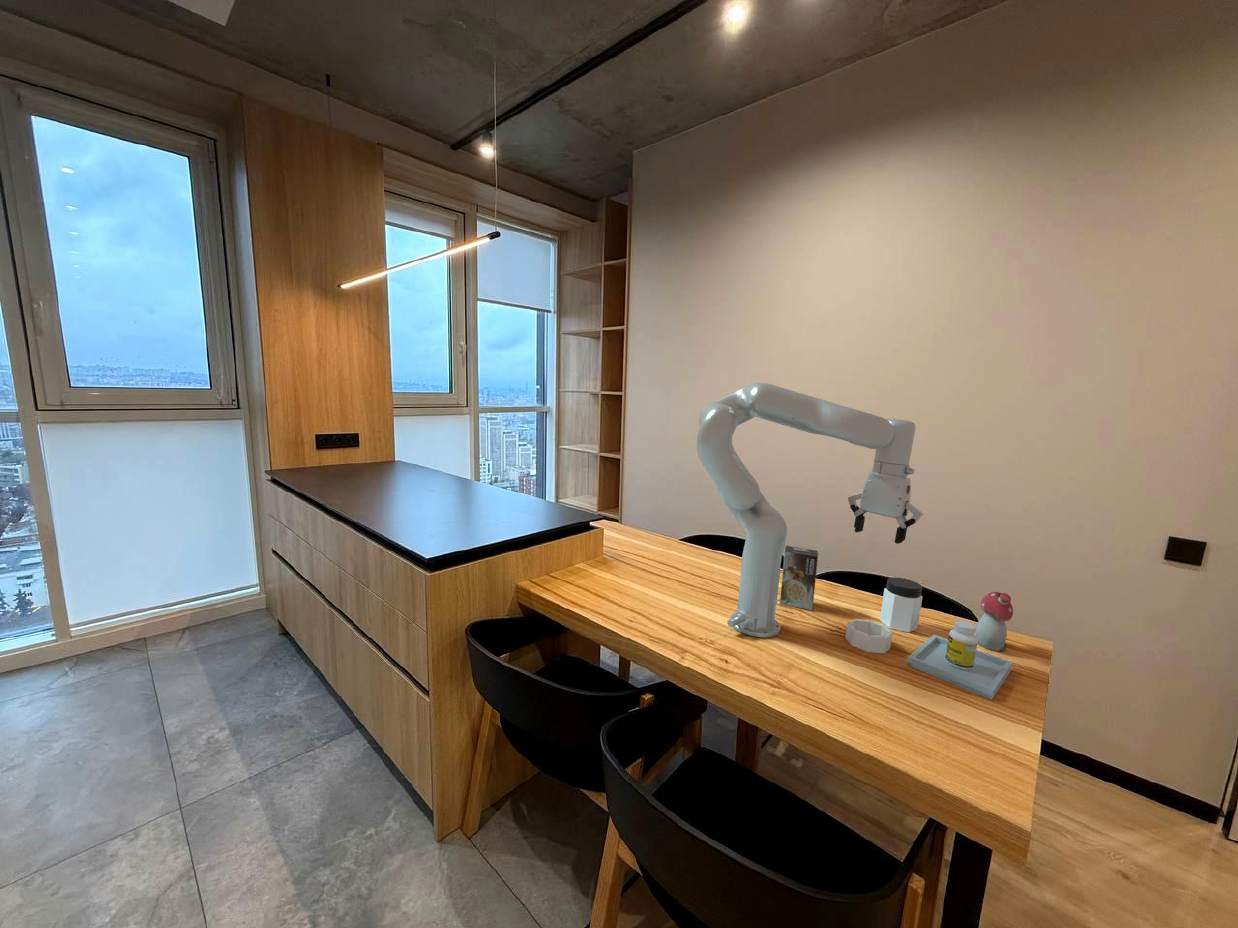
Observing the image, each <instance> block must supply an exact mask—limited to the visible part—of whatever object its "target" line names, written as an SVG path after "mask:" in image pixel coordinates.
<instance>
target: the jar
mask: <svg viewBox="0 0 1238 928" xmlns="http://www.w3.org/2000/svg"><path fill="white" fill-rule="evenodd" d="M922 592H923V586H922V585H921V584H920V583H919V582H916V581H914V580H911V579H907V578H903V577H895V576H894V577H890V578H888V579H887V581H886V587H885V588H884V589H883V596H882V603H881V610H880V617H879V621H880V622H881V623H882V624H883V625H884V626H885V627H888V629H892V630H896V631H900V632H904V633H911V632H913V631H916V630H918V627H919V620H920V614H921V609H922V603H923V602H922V601H923V596H922V594H923V593H922Z"/></svg>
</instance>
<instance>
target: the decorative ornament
mask: <svg viewBox="0 0 1238 928" xmlns="http://www.w3.org/2000/svg"><path fill="white" fill-rule="evenodd" d="M1011 599H1012V597H1011V596H1010V595H1009V594H1007V593H1005V592H999V591H991V592H989V593H988V594H985V596H983V598H982V599H981V600H980V609H981V610H982V611H983V612H984V614H983V615H982V616H981V618H979V620H978V621H977V624H976V625H975V626H976V631H975V634H974V635H975V636H976V637H977V639H978V643H977V645H978V644H979V645H980V646H982V647H983V648H985V649H987V650H989V651H995V652H1004V651H1006V650H1007V645H1006V644H1007V643H1006V641H1007V637H1008V636H1007V635H1008V632H1007V625H1006V622H1009V621H1010V620H1011V619H1012V618H1013V615H1014V608H1013V605H1012V602H1011V601H1012V600H1011Z"/></svg>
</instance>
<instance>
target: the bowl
mask: <svg viewBox="0 0 1238 928" xmlns="http://www.w3.org/2000/svg"><path fill="white" fill-rule="evenodd" d="M845 630H846V631H845V639H846V640H847V642H848V643H849V644H850V646H852V647H854V648H857V649H858V650H859V649H860V650H862V651H864V652H867V653H873V654H875V653H876V654H886V652H888V651H889V650H891V645H892V638H893V632H892V631H891V630H890V629H889V628H887V626H886V625H885V624H881V623H878V622H875V621H873V620H869V619H858V618H854V619H851V620H850V621H848V622H847V623H846V629H845Z"/></svg>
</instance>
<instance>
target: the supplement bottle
mask: <svg viewBox="0 0 1238 928" xmlns="http://www.w3.org/2000/svg"><path fill="white" fill-rule="evenodd" d="M976 626H977V625H975V624H974V623H970V622H969V621H964V620H955V621H954V625H953V628H954V629H951V630H950V631H949V633H948V644H947V650H946V656H945V660H946V662H947V663H948V664H950V665H951V666H953V667H956V668H958V669H962V670H971V669H973V666H974V660H975V655H976V650H978V649H977V648H978V639H977V637H976V636H975V631H976Z"/></svg>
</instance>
